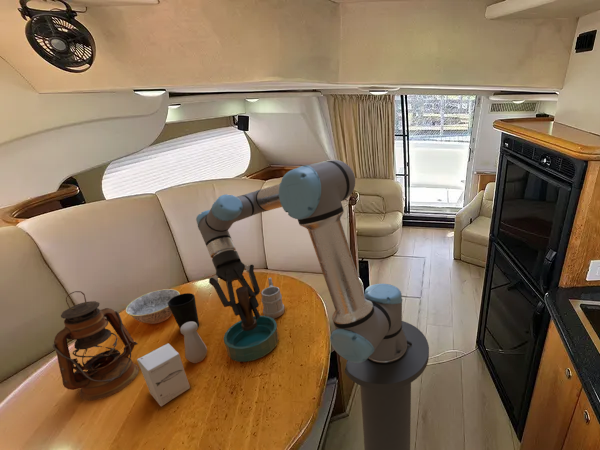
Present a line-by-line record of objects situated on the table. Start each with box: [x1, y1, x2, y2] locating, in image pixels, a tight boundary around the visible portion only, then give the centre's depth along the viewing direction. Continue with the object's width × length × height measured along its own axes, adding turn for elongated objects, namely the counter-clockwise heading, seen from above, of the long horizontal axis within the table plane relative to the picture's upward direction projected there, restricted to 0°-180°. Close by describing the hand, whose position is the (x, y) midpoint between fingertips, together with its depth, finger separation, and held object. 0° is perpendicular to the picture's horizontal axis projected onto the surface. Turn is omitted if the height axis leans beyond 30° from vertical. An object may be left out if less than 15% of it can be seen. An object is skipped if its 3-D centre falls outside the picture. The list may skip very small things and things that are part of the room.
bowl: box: [125, 288, 181, 325], centre depth 115 cm, size 16×16×8 cm
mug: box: [260, 277, 285, 319], centre depth 118 cm, size 8×12×12 cm, turn 21°
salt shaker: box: [179, 321, 208, 364], centre depth 95 cm, size 6×6×13 cm
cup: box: [168, 292, 200, 329], centre depth 109 cm, size 8×8×12 cm
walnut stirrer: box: [235, 286, 257, 331], centre depth 98 cm, size 4×4×14 cm
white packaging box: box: [136, 343, 191, 408], centre depth 84 cm, size 7×7×13 cm
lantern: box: [52, 290, 140, 401], centre depth 84 cm, size 17×13×30 cm
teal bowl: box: [223, 315, 280, 363], centre depth 102 cm, size 16×16×6 cm
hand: (251, 320), depth 96 cm, fingers closed on walnut stirrer, 3 cm apart
